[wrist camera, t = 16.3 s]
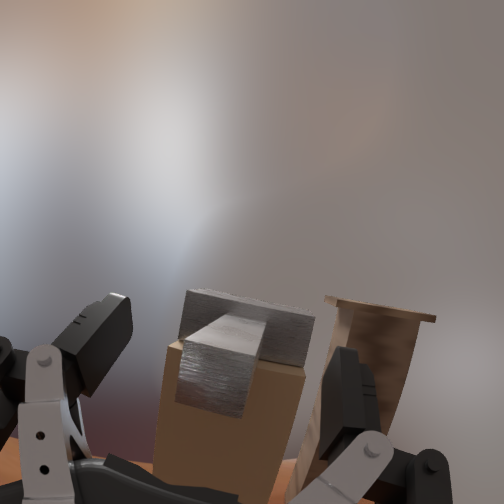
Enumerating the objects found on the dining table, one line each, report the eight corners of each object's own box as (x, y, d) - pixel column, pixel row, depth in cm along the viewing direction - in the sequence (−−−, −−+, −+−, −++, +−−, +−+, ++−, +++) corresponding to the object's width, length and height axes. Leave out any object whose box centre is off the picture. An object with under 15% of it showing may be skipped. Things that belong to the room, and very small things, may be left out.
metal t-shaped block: (106, 377, 13) (116, 296, 13) (197, 328, 29) (204, 288, 30) (321, 432, 11) (345, 347, 12) (299, 350, 28) (308, 309, 29)
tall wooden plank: (269, 526, 28) (337, 299, 31) (272, 492, 37) (325, 295, 39) (354, 530, 27) (436, 315, 29) (345, 498, 36) (408, 309, 38)
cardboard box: (148, 552, 19) (168, 344, 21) (177, 498, 31) (206, 323, 33) (238, 576, 18) (306, 375, 20) (248, 516, 30) (296, 342, 32)
